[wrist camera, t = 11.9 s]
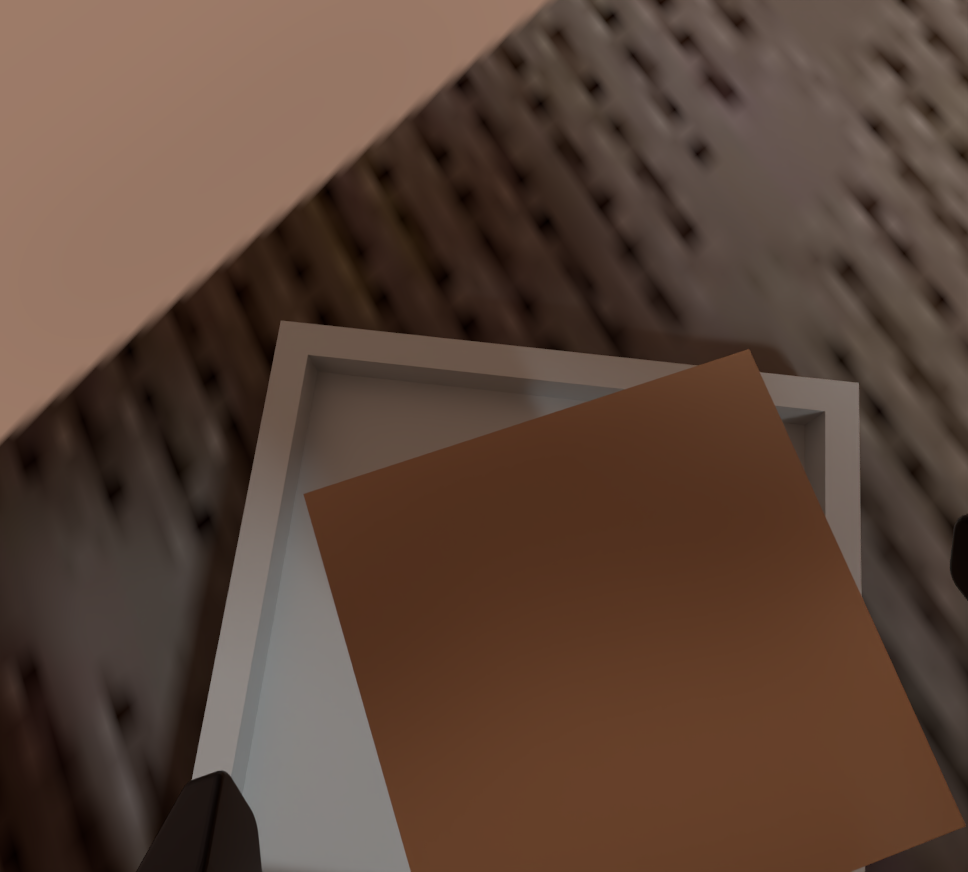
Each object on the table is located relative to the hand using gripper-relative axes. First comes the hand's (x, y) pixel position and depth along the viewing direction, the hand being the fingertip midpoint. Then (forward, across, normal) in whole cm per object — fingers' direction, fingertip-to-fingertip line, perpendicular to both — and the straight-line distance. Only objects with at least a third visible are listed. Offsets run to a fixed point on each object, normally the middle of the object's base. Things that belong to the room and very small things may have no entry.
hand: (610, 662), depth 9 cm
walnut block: (+7, 0, +6) cm, 9 cm away
